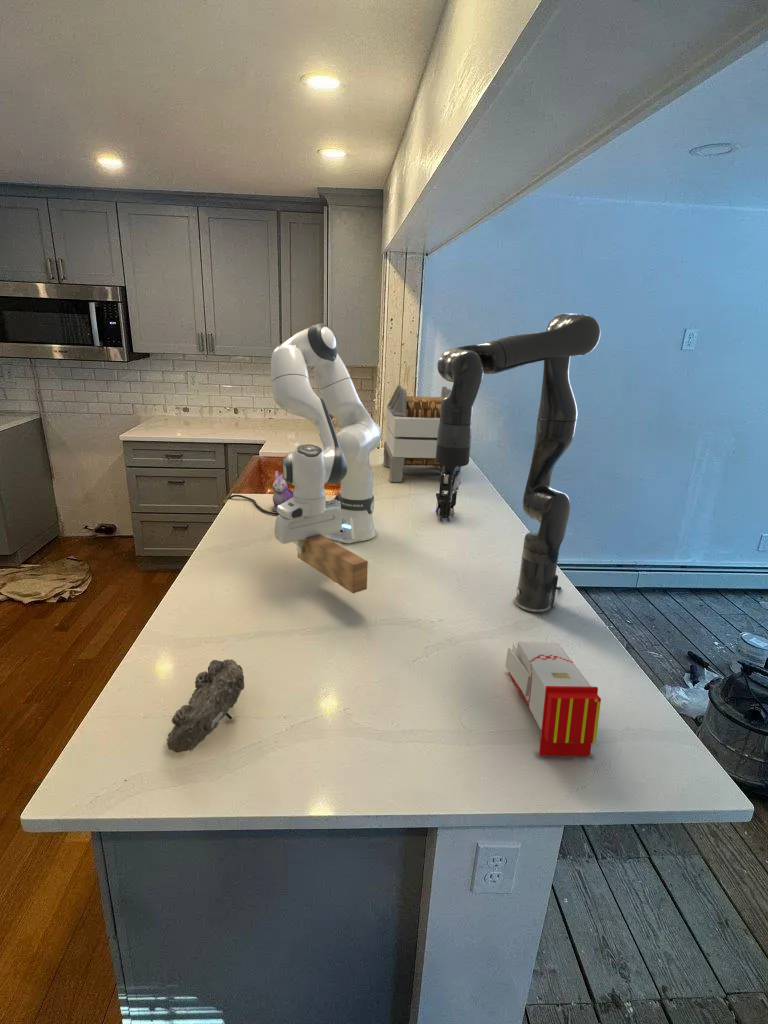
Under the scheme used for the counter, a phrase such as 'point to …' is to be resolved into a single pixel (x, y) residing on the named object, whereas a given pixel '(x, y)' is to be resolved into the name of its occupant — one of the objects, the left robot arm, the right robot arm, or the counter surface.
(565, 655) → the toy
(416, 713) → the counter surface
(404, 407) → the legged crate with fins
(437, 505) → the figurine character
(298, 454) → the left robot arm
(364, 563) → the bar
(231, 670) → the fossil
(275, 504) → the figurine
